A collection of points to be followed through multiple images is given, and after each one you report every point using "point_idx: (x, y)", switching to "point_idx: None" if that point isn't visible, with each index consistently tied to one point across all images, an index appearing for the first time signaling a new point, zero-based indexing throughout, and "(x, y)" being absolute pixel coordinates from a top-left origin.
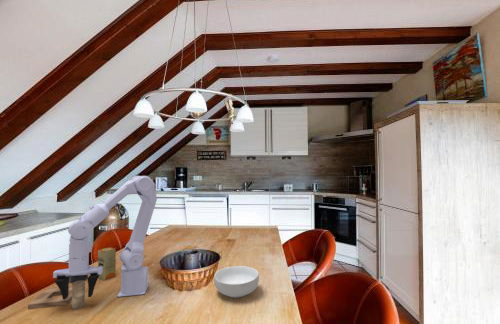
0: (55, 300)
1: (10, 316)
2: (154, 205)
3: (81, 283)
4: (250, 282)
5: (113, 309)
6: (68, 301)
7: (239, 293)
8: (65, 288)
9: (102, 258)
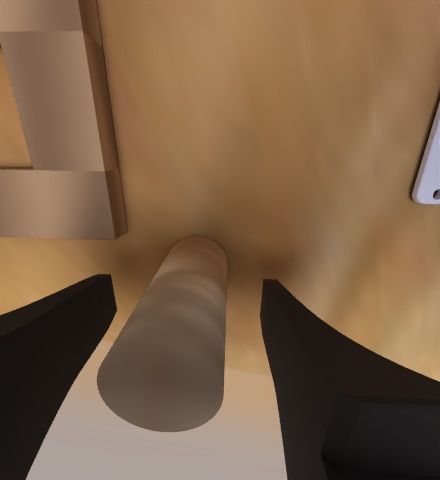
0: (28, 218)
1: None
2: None
3: (205, 417)
4: None
5: (388, 333)
6: (118, 231)
7: None
8: (67, 360)
9: None
